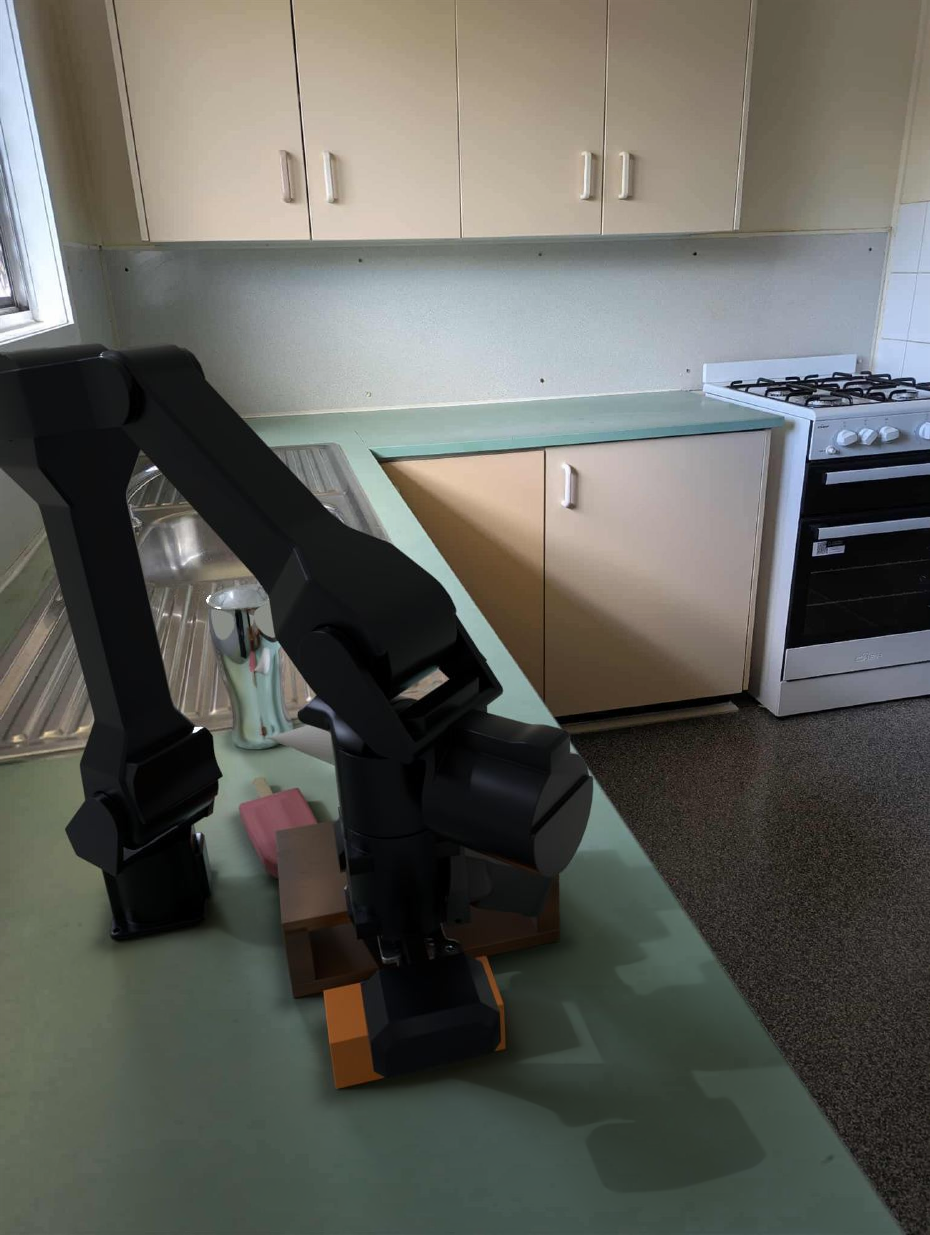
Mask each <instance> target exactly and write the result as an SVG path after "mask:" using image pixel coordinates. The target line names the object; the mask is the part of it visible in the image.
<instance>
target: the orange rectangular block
mask: <svg viewBox="0 0 930 1235" xmlns="http://www.w3.org/2000/svg"><path fill="white" fill-rule="evenodd" d="M475 959H477V960H479V961H481V962H482V963H483V966H484V969H485V971H486V974H487V977H488V980H489V983H490V986H491V988H492V991H493V994H494V997H495V1000H496V1002H497V1005H498V1008H499V1011H500V1023H501V1043H500V1044H499V1046H498V1047H497V1048H496V1050H495V1051H494V1052H498V1051H503V1050H505V1049H506V1048H507V1047H506V1025H505V1003H504V1001H503V998H502V996H501V993H500V989H499V987H498V985H497V984H498V983H497V981H496V979H495V976H494V973H493V970H492V968H491V965H490V963H489V960H488V956H487V957H486V956H482V957H478V958H475ZM323 1000H324V1008H325V1015H326V1017H325V1018H326V1024H327V1025H326V1026H327V1032H328V1042H329V1049H330V1057H331V1063H332V1070H333V1071H332V1072H333V1079H334V1084H335V1085H334V1086H335V1089H336V1090H339V1089H342V1088H346V1087H347V1088H348V1087H351V1086H354V1085H360V1084H363V1083H369V1082H372V1081H373V1082H374V1081H376V1080H381V1079H386V1078H385V1077H383V1076H381V1075H379V1074H377V1073H375V1072H374V1070H373V1064H372V1058H371V1053H370V1047H369V1041H368V1035H367V1029H366V1022H365V1015H364V1008H363V1001H362V993H361V986H360V983H357V984H352V985H347V986H343V987H338V988H333V989H329V990H324V992H323Z"/></svg>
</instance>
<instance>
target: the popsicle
mask: <svg viewBox="0 0 930 1235" xmlns="http://www.w3.org/2000/svg"><path fill="white" fill-rule="evenodd" d="M252 784H253V786H254V788H255V790H256V792H257V794H258V797H257V798H255V799H251V800H248V801H243V802H241V803H239V805H238V811H239V812H238V813H239V817H240V819H241V821H242V824H243V827H244V828H245V831H246V833H247V835H248V837H249V839H250V842H251V844H252V846H253V847H254V849H255V852H256V854H257V855H258V857H259V859H260V861H261V863H262V866H263V867H264V869H265V871H266V872H267V873H268V874H269V875H271V876H272V877H274V878H275V879H276V880H278V864H277V848H276V833H275V831H277V830H283V829H289V828H294V827H300V826H306V825H311V824H317V823H319V822H318V821H317V818H316V817H315V814H314V813H313V810H312V808H311V807H310V805H309V803H308V802H307V800H306V798H305V796H304V795H303V792H302V791H301V789H300V788H299V787H292V788H289V789H286V790H282V791H278V792H276V793H273V791H272V788H271V786H270V785H269V783H268V781H267V779H266V777H264V776H258V777H255V778H254V779H253V780H252Z"/></svg>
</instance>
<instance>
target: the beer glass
mask: <svg viewBox="0 0 930 1235" xmlns="http://www.w3.org/2000/svg"><path fill="white" fill-rule="evenodd" d="M206 604H207V612H208V613H207V615H208V616H207V617H208V627H209V628H208V629H209V635H210V643H211V647H212V648H211V649H212V652H213V657H214V660H215V663H216V666H217V669H218V672H219V674H220V677H221V680H222V682H223V686H224V688H225V691H226V693H227V697H228V699H229V703H230V707H231V714H232V723H231V724H232V726H231V739H232V742H233V743H234V744H235V745H236V746H237V747H239V748H241V749H245V750H264V749H270V748H273V747H276V746H278V745H281V744H280V743H278V742H276V741H273V740H271V739H268V738H267V737H270V736H274V735H277V734H280V733H284V732H287V731H290V730H294V729H295V728H294V724H293V720H292V718H291V715H290V712H289V709H288V706H287V700H286V670H287V654H286V652H285V651H284V650H283V648H282V647H281V645H280V644H279V642H278V641H277V639H276V638H275V634H274V628H273V622H272V615H271V609H270V602H269V597H268V595H267V593H266V592H265V591H264V589H263V588H262V586H261V585H260V583H257V584H256V583H255V584H253V583H251V584H240V585H234V586H230V587H226V588H222V589H220V590H217V591H215V592H213V593H212V594H210V595H209V596H208V597H207V599H206Z"/></svg>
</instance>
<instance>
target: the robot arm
mask: <svg viewBox="0 0 930 1235" xmlns="http://www.w3.org/2000/svg"><path fill="white" fill-rule="evenodd" d="M141 452H142V453H143V454H144V455H145V456H146V457H147V459H148V460H149V461H150V462H151V463H152V464H153V465H154V466H155V467H156V469H157V470H158V471H159V472H160V473H161V474H162V475H163V476H164V477H165V479H166V480H167V481H168V482H169V483H170V484H171V485H172V487H173V488H174V489H175V490H176V491H177V492H179V494H180V495H181V496H182V497H183V498H184V500H185V501H186V502H187V503H188V504H189V506H191V508H192V509H193V510H194V511H195V512H196V513H197V515H199V516H200V518H201V519H202V520H203V521H204V522H205V523H206V524H207V525H208V526H209V528H210V529H211V530H212V531H213V532H214V533H215V534H216V536H217V537H218V538H219V539H220V540H221V541H222V542H223V543H224V544H225V545H226V547H227V548H228V549H229V550H230V551H231V552H232V553H233V555H234V556H236V558H237V559H238V560H239V561H240V562H241V563H242V565H244V567H245V568H246V569H247V570H248V571H249V572H250V573H251V574H252V576H254V578H255V579H256V581H257V582H258V584H259V585H261V586H262V588H263V589H264V591H265V592H266V593H267V595H268V597H269V602H270V609H271V615H272V622H273V628H274V634H275V638H276V639H277V641H278V642H279V644H280V645H281V647H282V648H283V650H284V651H285V652H286V656H287V657H288V659H289V660H290V661H291V663H292V664H293V665H294V666H295V668H296V670H297V671H298V673H299V674H300V675H301V677H302V679H303V680H304V681H305V683H306V684H307V686H308V687H309V688H310V689H311V690H312V692H313V693H314V694H315V696H314V697H313V698H312V699H311V700H310V701H309V702H308V703H307V704H305V706H303V707H302V708H300V709H299V710H298V711H297V715H296V716H297V719H298V720H299V722H300V723H302V724H304V725H306V726H307V725H310V726H313V727H316V728H319V729H322V730H326V731H328V732H330V734H331V741H332V749H333V757H334V765H335V766H334V765H333V766H334V772H335V773H334V774H335V780H336V789H337V798H338V806H337V811H338V818H337V819H336V820H337V821H336V822H335V823H334V824H333V829H334V837H335V845H336V852H337V858H338V863H339V869H340V873H342V872H346V877H347V884H348V885H347V886H346V887H345V889H344V892H345V898H346V904H347V910H348V916H349V918H350V920H351V922H352V923H353V925H354V927H355V929H356V935H357V940H360V939H362V940H363V942H364V944H365V945H366V947H367V949H368V950H369V952H370V954H371V956H372V957H373V959H374V961H375V962H376V964H377V966H378V968H379V969H380V970H378V971H377V972H376V973H375V974H374V975H373V976H372V977H371V978H370V980H368V981H363V982H360V986H361V993H362V1001H363V1008H364V1015H365V1022H366V1029H367V1035H368V1041H369V1047H370V1053H371V1058H372V1064H373V1070H374V1072H375V1073H377V1074H379V1075H381V1076H383V1077H385V1078H384V1079H387V1080H388V1079H392V1078H396V1077H400V1076H404V1075H409V1074H413V1073H417V1072H423V1071H426V1070H429V1069H433V1068H438V1067H442V1066H446V1065H447V1066H448V1065H450V1064H455V1063H458V1062H462V1061H463V1062H464V1061H468V1060H471V1059H477V1058H479V1057H484V1056H488V1055H492V1054H495V1052H496V1051H495V1050H496V1048H497V1047H498V1046H499V1044H500V1043H501V1023H500V1011H499V1008H498V1005H497V1002H496V1000H495V997H494V994H493V991H492V988H491V986H490V983H489V980H488V977H487V974H486V971H485V969H484V966H483V963H482V962H481V961H479V960H477V959H475V958H474V957H472V956H470V955H468V954H467V953H465V952H464V951H463V948H462V945H461V944H460V943H459V942H458V941H456V940H453V939H448V938H446V937H445V934H444V930H443V927H442V924H441V923H442V922H446V923H447V926H448V927H453V926H458V925H463V924H468V923H471V913H470V905H471V906H473V907H475V908H478V909H483V910H493V911H504V912H514V913H521V915H522V916H524V917H536V916H538V915H540V914H541V912H542V909H543V907H544V904H545V901H546V899H547V896H548V893H549V891H550V888H551V885H552V883H553V880H554V877H556V876H557V875H558V874H559V875H560V874H561V873H563V871H565V869H567V867H568V866H569V865H570V863H571V861H572V860H573V858H574V856H575V855H576V853H577V852H578V849H579V847H580V845H581V843H582V841H583V837H584V835H585V832H586V829H587V826H588V824H589V819H590V816H591V810H592V806H593V798H594V776H592V775H590V772H589V768H588V764H587V763H586V760H585V759H584V757H583V756H581V755H580V754H579V753H575V752H572V751H571V734H570V733H569V731H568V730H567V729H564V728H560V727H556V726H552V725H549V724H543V723H542V724H541V723H527V722H523V721H521V720H520V721H519V720H516V719H513V718H509V717H506V716H502V715H498V714H494V713H490V712H488V706H489V705H490V704H491V703H493V702H494V701H495V700H497V699H498V698H499V697H501V696H503V693H504V688H503V685H502V684H501V682H500V681H499V679H498V678H497V676H496V675H495V673H494V671H493V670H492V668H491V667H490V665H489V663H488V658H486V657H485V656H484V654H483V653H482V652H481V651H480V649H479V648H478V646H477V645H476V643H475V642H474V640H473V639H472V636H471V635H470V633H469V632H468V631H467V629H466V628H465V626H464V624H463V622H462V621H461V619H460V618H459V616H458V615H457V611H458V610H457V607H456V605H455V602H454V600H453V599H452V596H451V595H450V594H449V592H448V591H447V589H446V588H445V586H444V585H443V584H442V583H441V581H439V580H438V579H437V578H436V577H435V576H433V575H432V574H431V573H430V572H429V571H427V570H426V569H425V568H424V567H423V566H421V565H420V564H418V563H417V562H416V561H415V560H413V559H412V558H410V557H409V556H408V555H407V554H406V553H405V552H403V551H402V550H401V549H400V548H398V547H397V546H396V545H394V544H393V543H391V542H389V541H387V540H384V539H381V538H379V537H376V536H373V535H371V534H368V533H366V532H363V531H361V530H359V529H356V528H353V527H351V526H349V525H347V524H345V523H344V522H343V521H342V520H341V519H339V518H338V517H337V516H336V515H334V514H333V513H332V512H330V510H329V509H328V508H327V507H326V506H325V505H324V504H323V503H322V502H321V501H320V499H319V498H318V497H317V496H316V495H315V494H314V493H313V492H312V491H311V490H310V489H309V488H308V487H307V486H306V485H305V483H303V482H302V480H301V479H300V478H299V477H298V476H297V475H296V474H295V473H294V471H292V470H291V469H290V468H289V466H287V465H286V463H285V462H284V461H283V460H282V459H281V458H280V457H279V456H278V455H277V454H276V453H275V452H274V450H273V449H272V448H271V447H270V446H269V445H268V444H267V443H266V442H265V441H264V440H263V439H262V437H260V436H259V435H258V434H257V432H255V430H254V429H253V428H252V427H251V426H250V425H249V424H248V423H247V422H246V421H245V420H244V419H243V418H242V417H241V416H240V414H239V413H238V412H237V411H236V410H235V409H234V408H233V407H232V406H231V405H230V403H228V402H227V401H226V400H225V399H224V398H223V397H222V395H221V394H220V393H219V392H218V391H217V390H216V389H215V388H214V386H212V385H211V384H210V382H209V381H208V380H207V379H206V375H205V372H204V369H203V367H202V364H201V363H200V361H199V359H198V358H197V356H196V355H195V354H194V353H193V352H192V351H190V350H189V349H187V347H181V346H178V345H177V344H174V343H170V342H169V343H168V342H163V343H155V344H147V345H146V344H145V345H138V346H137V345H136V346H130V347H121V348H120V347H119V348H112V349H110V348H108V347H106V346H105V345H103V344H102V343H99V342H94V341H93V342H92V341H90V342H80V343H71V344H63V345H62V344H60V345H54V346H53V345H52V346H43V347H34V348H25V349H23V348H22V349H16V350H5V351H0V469H1V471H3V472H4V473H5V474H6V475H7V476H8V477H9V478H10V479H11V480H12V481H13V482H14V483H15V484H16V485H18V486H19V487H20V489H22V490H23V491H24V492H25V493H26V494H27V495H28V496H29V497H30V498H31V499H32V501H34V502H35V503H36V504H37V505H38V508H39V511H40V514H41V518H42V522H43V525H44V529H45V533H46V538H47V541H48V545H49V549H50V553H51V556H52V560H53V565H54V568H55V572H56V575H57V580H58V584H59V587H60V591H61V595H62V599H63V603H64V606H65V610H66V614H67V619H68V621H69V626H70V629H71V633H72V637H73V641H74V645H75V648H76V653H77V657H78V662H79V664H80V667H81V672H82V675H83V679H84V683H85V687H86V691H87V695H88V700H89V704H90V706H91V710H92V714H93V724H92V727H91V730H90V731H89V735H88V737H87V741H86V744H85V747H84V750H83V753H82V756H81V759H80V762H79V771H80V777H81V783H82V789H83V796H84V801H83V802H82V804H81V805H80V807H79V808H78V809H77V811H76V812H75V814H74V815H73V817H72V818H71V819H70V820H69V822H68V823H67V825H66V827H65V828H64V831H65V834H66V836H67V838H68V841H69V843H70V846H71V847H72V850H73V852H74V854H75V856H77V857H78V858H80V859H82V860H84V861H86V862H87V863H89V864H91V865H93V866H95V867H96V868H98V869H101V873H102V877H103V880H104V885H105V890H106V893H107V897H108V901H109V905H110V910H111V914H112V916H111V920H110V921H111V922H110V927H109V931H108V932H109V937H110V939H111V940H112V941H117V940H123V939H128V938H133V937H138V936H145V935H149V934H153V933H159V932H165V931H169V930H175V929H179V928H184V927H189V926H195V925H199V924H202V923H203V922H204V921H205V920H206V913H207V911H206V910H207V900H209V899H210V898H211V897H212V893H213V892H212V889H213V873H212V869H211V868H212V867H211V862H210V858H209V857H210V856H209V852H208V847H207V842H206V836H205V834H204V833H203V832H196V827H195V825H196V824H197V823H199V822H200V821H202V820H203V819H204V818H208V817H210V816H212V815H213V814H214V807H215V800H216V797H217V796H218V794H219V789H220V784H219V783H220V782H219V781H220V779H221V778H223V777H224V775H223V772H222V769H221V768H220V766H219V764H218V760H217V756H216V753H215V743H214V742H215V741H214V735H213V734H212V732H211V731H210V730H209V729H208V728H207V727H204V726H198V725H196V724H195V723H194V722H193V721H192V720H191V719H190V718H189V717H187V716H186V715H185V714H184V713H183V712H182V711H181V710H179V709H178V708H177V707H176V706H175V704H174V701H173V697H172V693H171V688H170V684H169V679H168V675H167V671H166V665H165V662H164V657H163V654H162V653H163V652H162V649H161V644H160V640H159V635H158V631H157V625H156V621H155V617H154V612H153V608H152V604H151V600H150V596H149V590H148V585H147V582H146V576H145V573H144V569H143V568H144V567H143V563H142V559H141V554H140V550H139V546H138V542H137V536H136V531H135V528H134V523H133V519H132V514H131V509H130V506H129V502H128V494H127V493H128V491H129V487H130V484H131V482H132V477H133V475H134V471H135V470H136V467H137V465H138V460H139V457H140V455H141ZM438 670H439V671H440V672H441V673H442V674H443V675H445V677H447V680H446V681H444V682H443V683H441V684H440V685H438V686H437V687H435V688H434V689H433V690H431V691H430V692H428V693H426V694H425V695H424V696H421V697H420V698H419V699H417V698H413V697H410V696H405V695H402V693H404V692H406V691H407V690H408V689H410V688H411V687H413V686H415V685H416V684H418V683H419V682H421V681H423V680H424V679H426V678H427V677H429V676H430V675H432V674H433V673H435V672H436V671H438ZM425 938H426V941H427V944H428V950H427V949H426V945H425ZM432 949H434V955H435V956H434V955H433V952H432Z"/></svg>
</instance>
